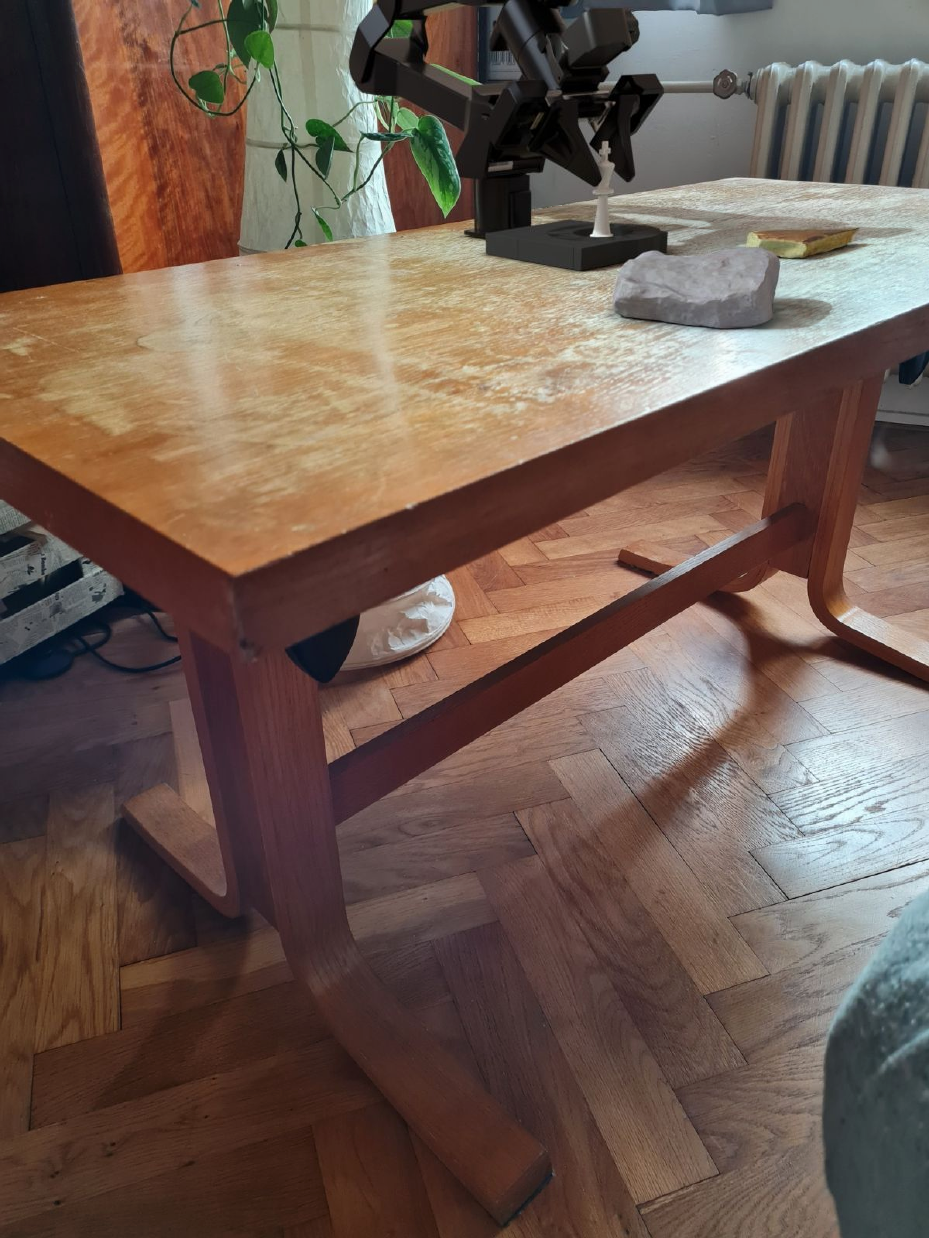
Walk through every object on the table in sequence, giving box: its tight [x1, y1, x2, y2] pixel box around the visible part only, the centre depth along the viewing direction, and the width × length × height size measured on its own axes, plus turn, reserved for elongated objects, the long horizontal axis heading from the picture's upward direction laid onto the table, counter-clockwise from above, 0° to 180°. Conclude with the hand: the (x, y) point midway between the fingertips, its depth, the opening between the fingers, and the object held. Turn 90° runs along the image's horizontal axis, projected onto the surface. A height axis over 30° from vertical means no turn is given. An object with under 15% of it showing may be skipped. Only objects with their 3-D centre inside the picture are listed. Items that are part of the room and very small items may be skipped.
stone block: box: [612, 246, 781, 329], centre depth 67 cm, size 12×5×10 cm
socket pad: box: [485, 218, 669, 272], centre depth 90 cm, size 15×14×2 cm
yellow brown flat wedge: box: [745, 227, 860, 259], centre depth 86 cm, size 11×8×2 cm
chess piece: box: [590, 141, 615, 237], centre depth 88 cm, size 5×5×10 cm
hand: (615, 181), depth 86 cm, fingers open, 4 cm apart
